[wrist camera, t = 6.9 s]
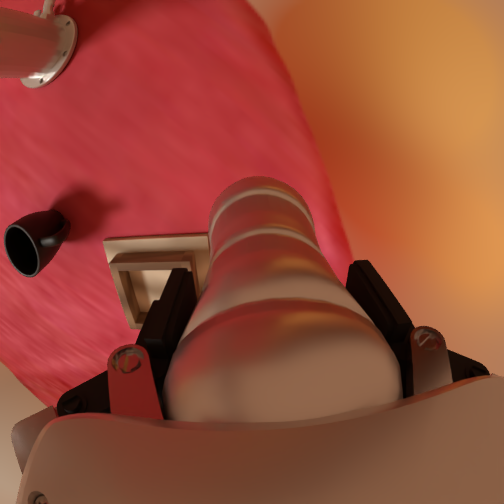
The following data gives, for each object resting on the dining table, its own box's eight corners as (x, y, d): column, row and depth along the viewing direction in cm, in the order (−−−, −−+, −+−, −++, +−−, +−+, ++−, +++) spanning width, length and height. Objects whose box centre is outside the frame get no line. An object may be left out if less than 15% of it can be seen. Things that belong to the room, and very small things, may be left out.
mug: (97, 242, 37) (65, 274, 28) (48, 251, 37) (16, 279, 29) (83, 191, 33) (44, 213, 24) (33, 207, 33) (-3, 229, 25)
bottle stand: (105, 238, 36) (93, 250, 33) (208, 233, 36) (203, 245, 33) (131, 321, 43) (123, 337, 40) (219, 324, 43) (217, 341, 40)
